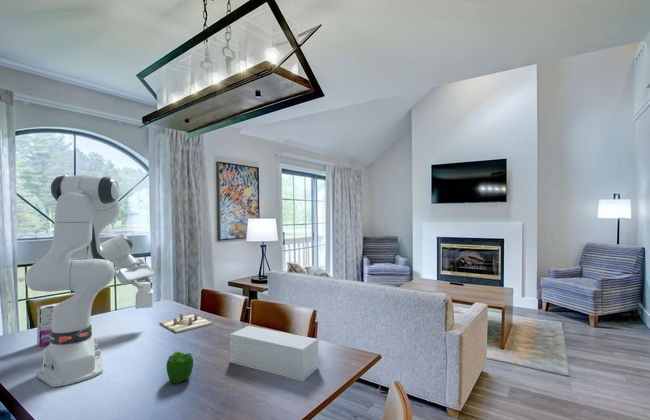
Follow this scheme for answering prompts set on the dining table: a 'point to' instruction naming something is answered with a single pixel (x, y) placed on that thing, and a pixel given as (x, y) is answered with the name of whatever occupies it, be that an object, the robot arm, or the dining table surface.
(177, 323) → the stub cradle
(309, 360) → the stack of papers
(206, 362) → the dining table surface
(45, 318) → the candy bar box
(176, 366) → the bell pepper
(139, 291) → the medicine bottle
